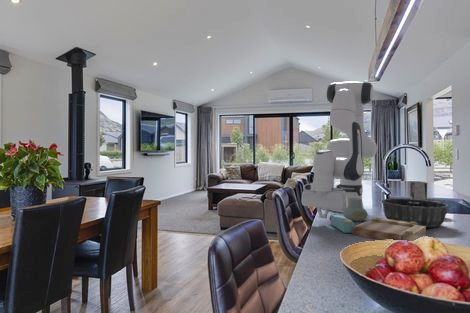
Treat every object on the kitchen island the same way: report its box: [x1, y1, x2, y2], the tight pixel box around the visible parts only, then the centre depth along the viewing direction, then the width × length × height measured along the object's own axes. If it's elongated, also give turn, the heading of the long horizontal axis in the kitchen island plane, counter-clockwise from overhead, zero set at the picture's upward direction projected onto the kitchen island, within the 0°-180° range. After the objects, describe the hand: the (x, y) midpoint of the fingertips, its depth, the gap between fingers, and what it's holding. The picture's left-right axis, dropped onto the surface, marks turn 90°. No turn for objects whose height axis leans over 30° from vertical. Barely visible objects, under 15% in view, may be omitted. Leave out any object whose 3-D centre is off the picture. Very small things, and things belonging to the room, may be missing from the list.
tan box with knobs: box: [351, 217, 427, 241], centre depth 135 cm, size 22×20×4 cm
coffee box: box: [408, 181, 428, 200], centre depth 183 cm, size 9×6×16 cm
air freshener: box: [342, 198, 368, 222], centre depth 163 cm, size 11×8×10 cm
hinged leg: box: [328, 213, 355, 233], centre depth 145 cm, size 18×4×5 cm, turn 3°
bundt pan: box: [381, 198, 449, 229], centre depth 154 cm, size 26×26×10 cm
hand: (323, 218), depth 152 cm, fingers closed
